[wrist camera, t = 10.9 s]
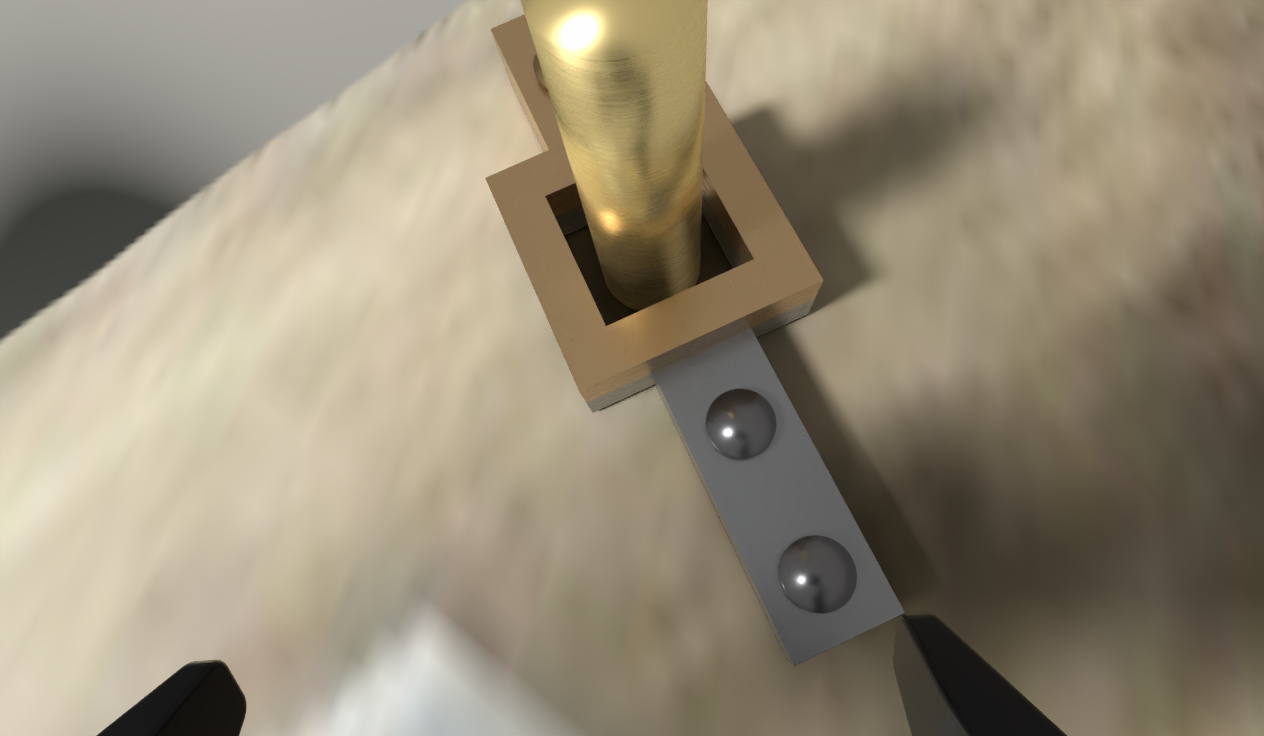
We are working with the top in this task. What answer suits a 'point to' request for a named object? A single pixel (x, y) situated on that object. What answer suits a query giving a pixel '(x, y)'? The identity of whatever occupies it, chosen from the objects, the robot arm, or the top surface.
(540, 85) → the square frame with handle
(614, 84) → the brass pin
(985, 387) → the top surface
